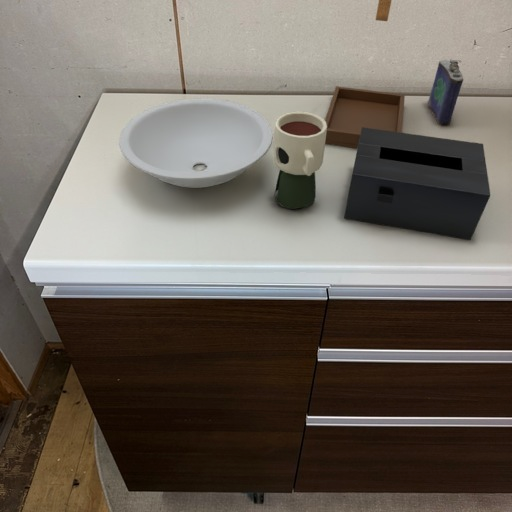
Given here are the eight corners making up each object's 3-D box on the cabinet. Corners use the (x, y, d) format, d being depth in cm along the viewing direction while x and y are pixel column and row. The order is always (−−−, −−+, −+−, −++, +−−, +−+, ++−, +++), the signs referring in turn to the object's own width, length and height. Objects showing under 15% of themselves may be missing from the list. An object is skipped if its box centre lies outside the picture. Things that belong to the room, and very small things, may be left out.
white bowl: (246, 122, 90) (245, 89, 85) (293, 196, 74) (295, 160, 69) (118, 143, 84) (110, 109, 80) (138, 228, 68) (130, 191, 64)
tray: (334, 99, 97) (335, 86, 95) (401, 107, 95) (404, 94, 93) (320, 143, 85) (321, 129, 83) (397, 154, 82) (400, 140, 80)
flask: (425, 103, 96) (440, 49, 88) (439, 103, 96) (455, 49, 88) (438, 126, 89) (456, 71, 82) (453, 126, 89) (472, 71, 82)
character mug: (264, 181, 76) (266, 107, 67) (306, 176, 78) (314, 102, 68) (281, 225, 69) (286, 148, 60) (327, 218, 70) (339, 142, 61)
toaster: (466, 187, 76) (483, 143, 70) (470, 244, 66) (491, 199, 61) (353, 169, 79) (361, 127, 73) (343, 222, 69) (351, 178, 64)
